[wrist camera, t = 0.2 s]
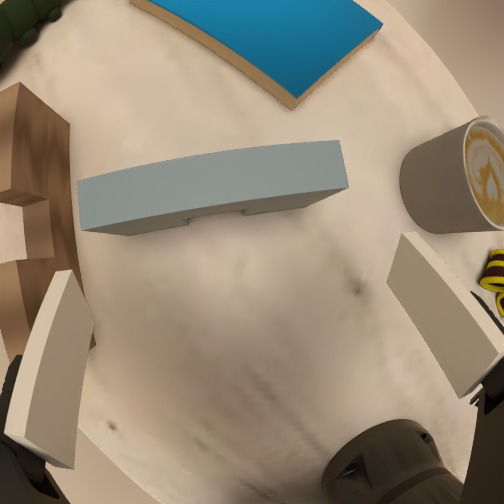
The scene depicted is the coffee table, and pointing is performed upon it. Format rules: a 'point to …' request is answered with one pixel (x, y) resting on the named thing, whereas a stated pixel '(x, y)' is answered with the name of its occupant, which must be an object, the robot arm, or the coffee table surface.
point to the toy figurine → (23, 20)
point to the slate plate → (211, 187)
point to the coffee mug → (457, 180)
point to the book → (274, 37)
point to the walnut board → (34, 209)
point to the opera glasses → (495, 277)
